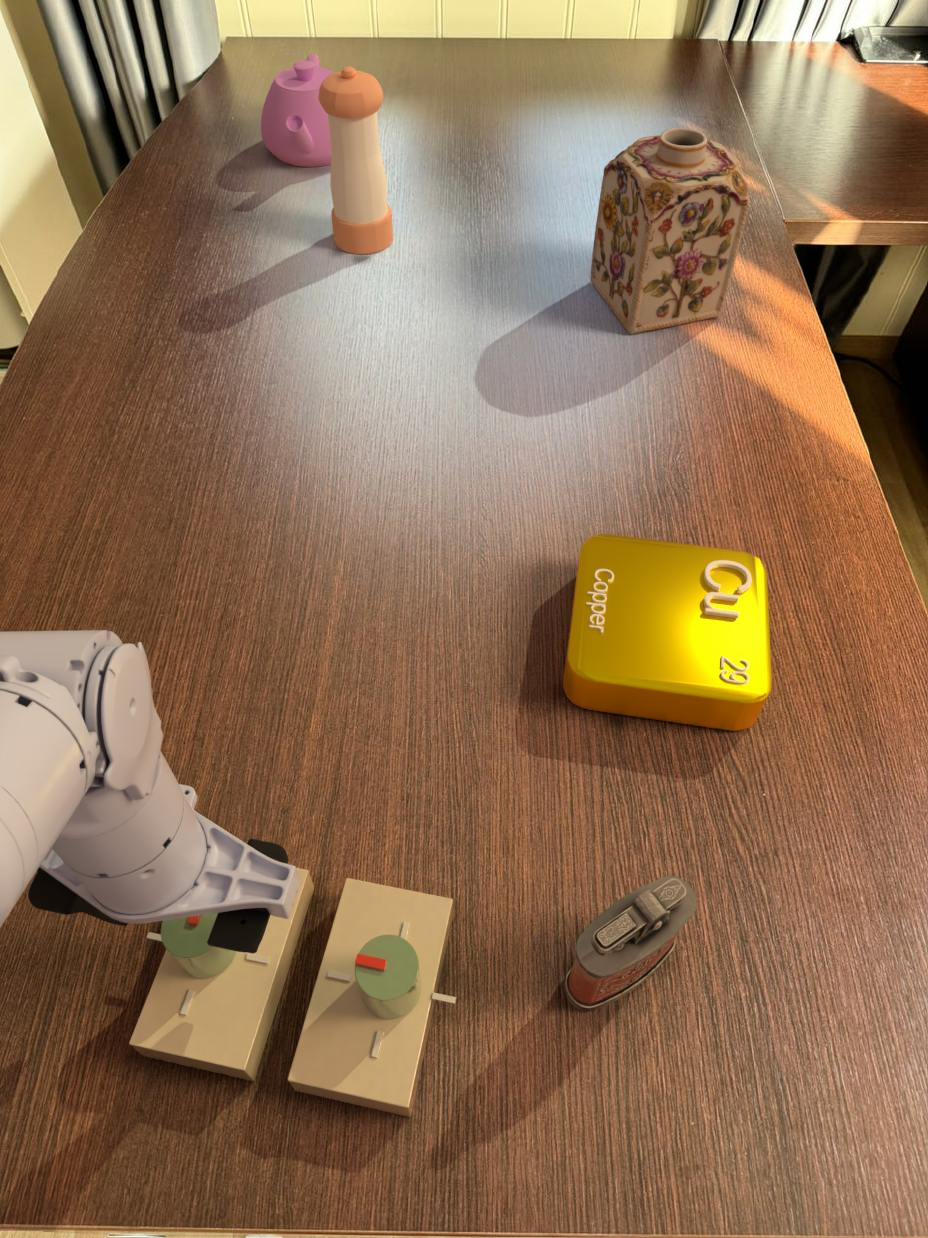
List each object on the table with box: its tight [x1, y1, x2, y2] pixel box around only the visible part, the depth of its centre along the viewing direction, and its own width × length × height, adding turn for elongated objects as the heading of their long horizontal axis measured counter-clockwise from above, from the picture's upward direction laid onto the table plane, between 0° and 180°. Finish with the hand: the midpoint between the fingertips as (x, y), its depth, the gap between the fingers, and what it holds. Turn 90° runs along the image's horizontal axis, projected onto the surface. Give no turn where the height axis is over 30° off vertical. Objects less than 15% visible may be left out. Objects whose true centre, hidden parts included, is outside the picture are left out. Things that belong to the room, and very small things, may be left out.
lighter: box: [563, 875, 698, 1013], centre depth 53 cm, size 8×3×10 cm, turn 123°
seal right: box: [355, 935, 422, 1019], centre depth 51 cm, size 4×4×4 cm
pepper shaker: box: [318, 66, 394, 255], centre depth 103 cm, size 7×7×19 cm
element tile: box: [562, 533, 773, 732], centre depth 71 cm, size 15×15×5 cm
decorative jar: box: [589, 127, 751, 335], centre depth 95 cm, size 12×12×18 cm
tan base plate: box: [128, 867, 315, 1082], centre depth 56 cm, size 12×8×3 cm
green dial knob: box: [160, 913, 236, 978], centre depth 53 cm, size 4×4×4 cm
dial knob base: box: [287, 877, 457, 1118], centre depth 54 cm, size 12×8×3 cm
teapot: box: [260, 53, 335, 168], centre depth 120 cm, size 14×20×11 cm
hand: (191, 921), depth 51 cm, fingers open, 7 cm apart
